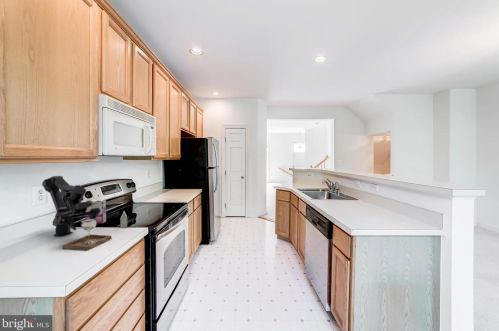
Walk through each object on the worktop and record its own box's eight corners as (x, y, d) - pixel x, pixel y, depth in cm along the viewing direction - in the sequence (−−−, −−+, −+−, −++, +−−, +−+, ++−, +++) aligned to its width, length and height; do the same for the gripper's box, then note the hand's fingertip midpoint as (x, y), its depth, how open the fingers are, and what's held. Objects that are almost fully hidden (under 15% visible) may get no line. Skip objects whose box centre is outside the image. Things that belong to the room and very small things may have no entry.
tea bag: (120, 228, 144) (120, 213, 144) (121, 225, 150) (120, 211, 150) (126, 227, 146) (126, 212, 146) (127, 224, 152) (127, 210, 152)
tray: (89, 237, 126) (89, 234, 126) (111, 239, 124) (111, 235, 124) (62, 248, 110) (62, 245, 110) (87, 250, 108) (87, 246, 108)
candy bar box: (106, 221, 159) (106, 199, 159) (103, 223, 154) (103, 200, 154) (89, 222, 157) (89, 200, 156) (85, 224, 152) (85, 201, 151)
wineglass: (94, 243, 116) (94, 221, 115) (79, 245, 113) (79, 222, 113) (98, 239, 122) (98, 218, 122) (83, 241, 119) (83, 219, 119)
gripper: (59, 199, 112) (69, 223, 107) (98, 194, 129) (109, 215, 124) (53, 211, 116) (62, 235, 111) (92, 205, 133) (101, 226, 128)
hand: (85, 227), depth 118 cm, fingers open, 9 cm apart
